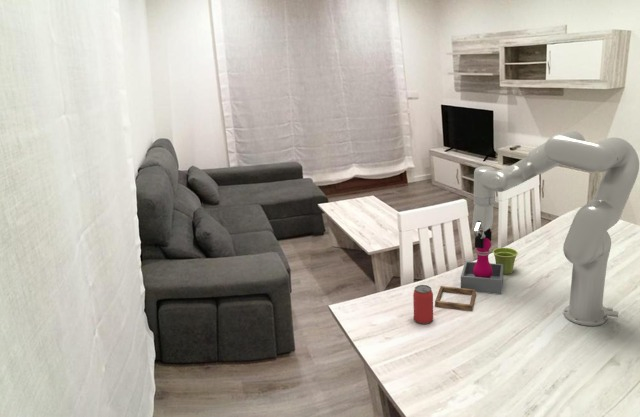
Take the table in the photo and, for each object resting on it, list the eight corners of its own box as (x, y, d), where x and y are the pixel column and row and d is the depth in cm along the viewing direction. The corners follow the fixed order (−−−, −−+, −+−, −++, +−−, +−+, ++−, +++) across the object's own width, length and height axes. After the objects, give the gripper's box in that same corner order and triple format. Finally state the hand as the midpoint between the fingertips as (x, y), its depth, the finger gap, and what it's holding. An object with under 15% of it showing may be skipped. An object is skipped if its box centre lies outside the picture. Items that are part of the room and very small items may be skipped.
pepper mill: (493, 279, 190) (494, 231, 185) (490, 287, 184) (491, 238, 179) (474, 277, 194) (475, 230, 188) (471, 284, 188) (471, 236, 182)
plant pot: (520, 275, 194) (521, 255, 191) (496, 277, 194) (497, 257, 191) (511, 266, 203) (512, 246, 200) (489, 267, 203) (489, 248, 200)
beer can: (422, 326, 163) (421, 294, 160) (409, 318, 169) (409, 287, 165) (437, 320, 166) (437, 289, 163) (424, 312, 172) (424, 282, 168)
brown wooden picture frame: (475, 294, 182) (475, 289, 181) (472, 311, 170) (472, 306, 170) (440, 290, 187) (440, 285, 186) (434, 306, 175) (434, 301, 175)
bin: (502, 277, 193) (503, 264, 191) (501, 294, 180) (501, 280, 178) (465, 274, 199) (465, 261, 197) (460, 290, 186) (460, 276, 184)
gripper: (482, 193, 188) (481, 235, 193) (465, 205, 175) (464, 250, 180) (502, 195, 183) (500, 238, 189) (486, 207, 171) (484, 253, 176)
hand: (483, 243), depth 184 cm, fingers open, 7 cm apart
